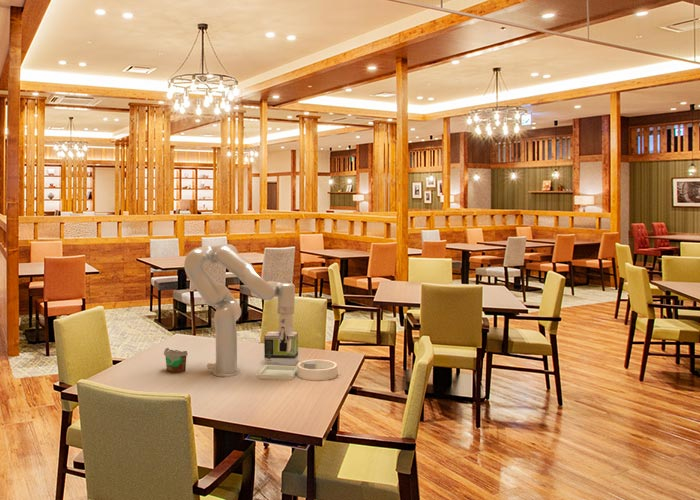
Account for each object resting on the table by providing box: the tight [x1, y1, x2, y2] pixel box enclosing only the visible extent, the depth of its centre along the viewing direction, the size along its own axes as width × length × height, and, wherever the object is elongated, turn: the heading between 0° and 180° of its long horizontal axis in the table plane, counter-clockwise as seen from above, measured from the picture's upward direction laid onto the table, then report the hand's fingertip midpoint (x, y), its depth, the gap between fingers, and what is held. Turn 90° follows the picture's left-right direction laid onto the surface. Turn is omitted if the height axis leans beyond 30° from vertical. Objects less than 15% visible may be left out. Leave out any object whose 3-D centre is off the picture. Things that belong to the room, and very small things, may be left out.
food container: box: [163, 347, 188, 374], centre depth 281 cm, size 12×6×10 cm, turn 62°
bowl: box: [296, 358, 338, 381], centre depth 278 cm, size 18×18×5 cm
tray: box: [256, 364, 297, 381], centre depth 278 cm, size 16×16×2 cm
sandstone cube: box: [278, 339, 291, 352], centre depth 277 cm, size 5×5×5 cm
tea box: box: [263, 331, 299, 366], centre depth 298 cm, size 15×10×15 cm, turn 84°
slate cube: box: [304, 361, 317, 370], centre depth 279 cm, size 5×5×5 cm
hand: (284, 349), depth 277 cm, fingers closed on sandstone cube, 5 cm apart
